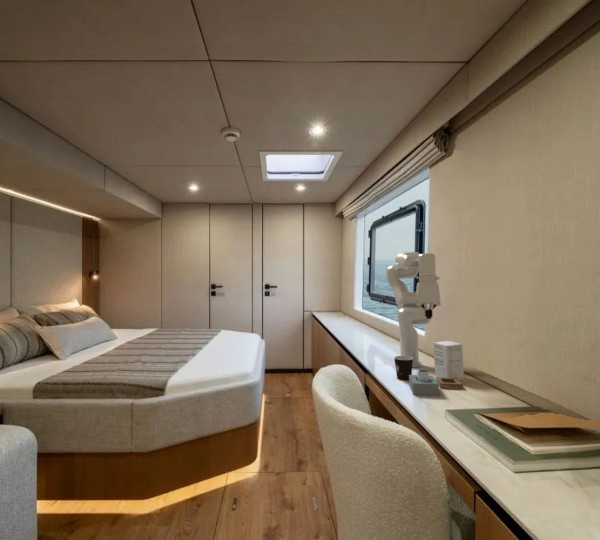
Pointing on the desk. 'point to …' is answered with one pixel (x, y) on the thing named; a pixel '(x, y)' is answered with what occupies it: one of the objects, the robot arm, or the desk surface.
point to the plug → (423, 374)
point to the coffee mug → (403, 367)
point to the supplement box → (448, 360)
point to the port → (423, 386)
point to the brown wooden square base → (449, 383)
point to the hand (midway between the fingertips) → (428, 318)
